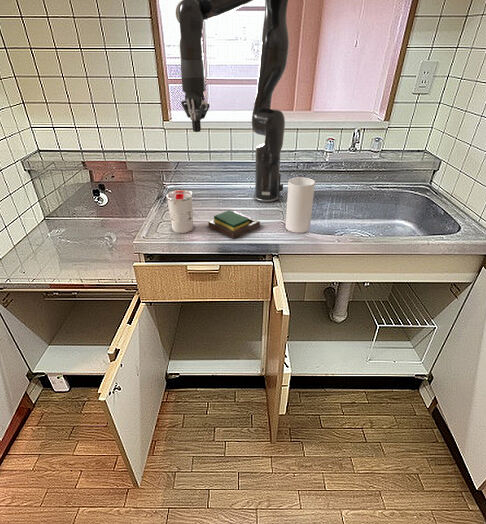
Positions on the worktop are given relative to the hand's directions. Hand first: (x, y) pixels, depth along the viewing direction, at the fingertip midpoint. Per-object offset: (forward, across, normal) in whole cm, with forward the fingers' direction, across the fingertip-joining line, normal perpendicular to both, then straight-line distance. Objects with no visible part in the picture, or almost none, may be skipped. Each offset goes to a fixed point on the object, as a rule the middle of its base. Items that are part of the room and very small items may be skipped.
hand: (196, 131), depth 123 cm
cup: (+27, -39, -10) cm, 49 cm away
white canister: (+27, -12, +18) cm, 35 cm away
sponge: (+27, -23, +5) cm, 36 cm away
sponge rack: (+27, -23, +5) cm, 36 cm away
